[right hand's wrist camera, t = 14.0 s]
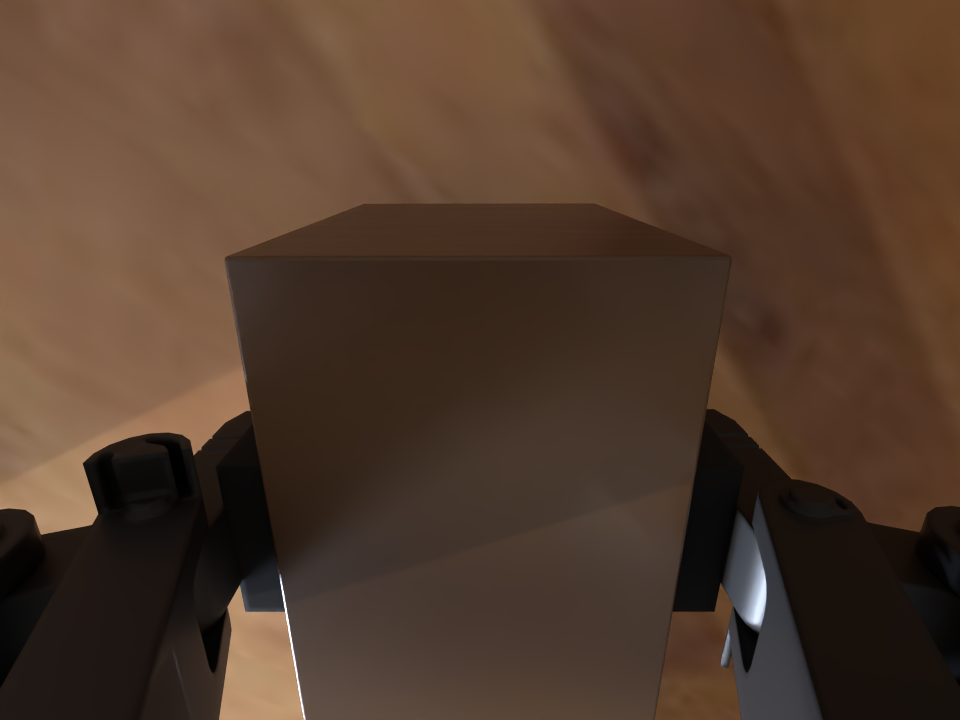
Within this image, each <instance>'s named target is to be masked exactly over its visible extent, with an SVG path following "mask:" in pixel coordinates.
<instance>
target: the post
mask: <svg viewBox="0 0 960 720" xmlns="http://www.w3.org/2000/svg"><path fill="white" fill-rule="evenodd" d="M225 266H226V272H227V278H228V283H229V289H230V295H231V301H232V306H233V312H234V318H235V324H236V329H237V335H238V341H239V347H240V352H241V358H242V364H243V370H244V375H245V381H246V387H247V393H248V398H249V404H250V410H251V416H252V422H253V427H254V433H255V439H256V445H257V450H258V456H259V462H260V468H261V473H262V479H263V485H264V491H265V496H266V502H267V508H268V514H269V519H270V525H271V531H272V537H273V543H274V548H275V554H276V560H277V566H278V571H279V577H280V583H281V589H282V594H283V600H284V606H285V612H286V617H287V623H288V629H289V635H290V640H291V646H292V652H293V658H294V663H295V669H296V675H297V681H298V687H299V692H300V698H301V704H302V710H303V715H304V720H654V719H655V713H656V707H657V701H658V695H659V689H660V684H661V678H662V672H663V666H664V660H665V654H666V648H667V642H668V636H669V630H670V624H671V618H672V612H673V606H674V600H675V594H676V588H677V582H678V576H679V570H680V564H681V558H682V552H683V546H684V540H685V534H686V528H687V522H688V517H689V511H690V505H691V499H692V493H693V487H694V481H695V475H696V469H697V463H698V457H699V451H700V445H701V439H702V433H703V427H704V421H705V415H706V409H707V403H708V397H709V391H710V385H711V379H712V373H713V367H714V361H715V355H716V350H717V344H718V338H719V332H720V326H721V320H722V314H723V308H724V302H725V296H726V290H727V284H728V278H729V272H730V266H731V257H730V256H728V255H726V254H723V253H721V252H718V251H716V250H713V249H710V248H708V247H705V246H703V245H700V244H698V243H695V242H692V241H690V240H687V239H685V238H682V237H679V236H677V235H674V234H672V233H669V232H667V231H664V230H661V229H659V228H656V227H654V226H651V225H648V224H646V223H643V222H641V221H638V220H636V219H633V218H630V217H628V216H625V215H623V214H620V213H617V212H615V211H612V210H610V209H607V208H605V207H602V206H599V205H597V204H363V205H360V206H358V207H355V208H352V209H350V210H347V211H345V212H342V213H339V214H337V215H334V216H331V217H329V218H326V219H324V220H321V221H318V222H316V223H313V224H311V225H308V226H305V227H303V228H300V229H297V230H295V231H292V232H290V233H287V234H284V235H282V236H279V237H277V238H274V239H271V240H269V241H266V242H263V243H261V244H258V245H256V246H253V247H250V248H248V249H245V250H243V251H240V252H237V253H235V254H232V255H229V256H227V257H226V258H225Z"/></svg>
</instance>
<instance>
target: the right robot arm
mask: <svg viewBox="0 0 960 720" xmlns="http://www.w3.org/2000/svg"><path fill="white" fill-rule="evenodd" d="M212 437H213V438H212V439H209V440H208V441H207V442H206V443H205V444H204V446H203V447H202V450H199V451H198V452H197V453H196V454H195V455H194V456H193V451H192V447H191V442H190V440H189V439H187V438H186V437H184V436H183V435H179V434H173V433H152V434H146V435H141V436H136V437H131V438H128V439H125V440H122V441H119V442H116V443H113V444H111V445H109V446H107V447H105V448H103V449H101V450H99V451H97V452H96V453H94V454H93V455H92V456H90V457H89V458H88V459H87V460H86V461H85V462H84V463H83V466H84V469H85V472H86V475H87V478H88V482H89V485H90V488H91V491H92V494H93V498H94V501H95V504H96V507H97V511H98V516H97V518H96V519H95V521H94V523H93V525H90V526H85V527H80V528H75V529H69V530H64V531H59V532H54V533H48V534H43V535H41V534H40V531H39V529H38V526H37V523H36V521H35V518H34V515H32V514H31V513H29V512H27V511H26V510H20V509H2V510H0V720H219V715H220V708H221V701H222V694H223V687H224V680H225V673H226V666H227V659H228V651H229V644H230V637H231V623H230V617H229V613H228V608H227V606H228V605H229V603H230V601H231V599H232V598H233V596H234V594H235V592H236V590H237V589H238V587H239V585H240V587H241V592H242V597H243V602H244V607H245V611H246V612H285V606H284V600H283V594H282V589H281V583H280V577H279V571H278V566H277V560H276V554H275V548H274V543H273V537H272V531H271V525H270V519H269V514H268V508H267V502H266V496H265V491H264V485H263V479H262V473H261V468H260V462H259V456H258V450H257V445H256V439H255V433H254V427H253V422H252V416H251V411H246V412H244V413H242V414H240V415H239V416H237V417H235V418H233V419H231V420H229V421H228V422H226V423H225V424H224V425H223V426H222V427H221V428H220V429H219V430H218V431H217V432H216V433H215V434H214V435H213V436H212ZM720 582H721V584H722V586H723V588H724V589H725V591H726V593H727V595H728V597H729V598H730V600H731V602H732V604H733V608H732V613H731V617H730V622H729V626H728V630H727V635H726V639H725V644H724V648H723V653H722V659H721V666H723V667H727V668H728V666H729V662H730V658H731V656H732V657H733V664H734V671H735V678H736V685H737V692H738V699H739V706H740V713H741V720H960V507H955V506H946V507H936V508H934V509H933V510H931V511H930V512H928V513H927V515H926V518H925V520H924V523H923V526H922V529H921V531H920V532H915V531H909V530H904V529H899V528H893V527H888V526H883V525H877V524H872V523H868V522H866V520H865V518H864V517H863V515H862V513H861V512H860V511H859V510H858V509H857V507H856V506H855V505H854V504H853V503H852V502H851V501H849V500H848V499H846V498H844V497H843V496H841V495H840V494H838V493H837V492H835V491H832V490H830V489H827V488H825V487H823V486H820V485H818V484H814V483H810V482H805V481H801V480H794V479H791V478H790V477H789V476H788V475H787V474H786V473H785V472H784V471H783V470H782V469H781V468H780V467H779V466H778V465H777V464H776V463H775V462H774V461H773V460H772V459H771V458H770V457H769V455H768V454H767V453H766V452H765V451H764V450H763V449H762V448H759V445H758V444H757V443H756V442H755V441H754V440H753V439H752V438H751V437H748V434H747V433H746V432H745V431H744V430H743V429H742V428H741V427H740V426H739V425H738V424H737V423H736V421H734V420H732V419H731V418H729V417H727V416H725V415H723V414H721V413H720V412H718V411H716V410H714V409H706V415H705V421H704V427H703V433H702V439H701V445H700V451H699V457H698V463H697V469H696V475H695V481H694V487H693V493H692V499H691V505H690V511H689V517H688V522H687V528H686V534H685V540H684V546H683V552H682V558H681V564H680V570H679V576H678V582H677V588H676V594H675V600H674V606H673V612H714V611H715V606H716V602H717V597H718V592H719V587H720Z"/></svg>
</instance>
